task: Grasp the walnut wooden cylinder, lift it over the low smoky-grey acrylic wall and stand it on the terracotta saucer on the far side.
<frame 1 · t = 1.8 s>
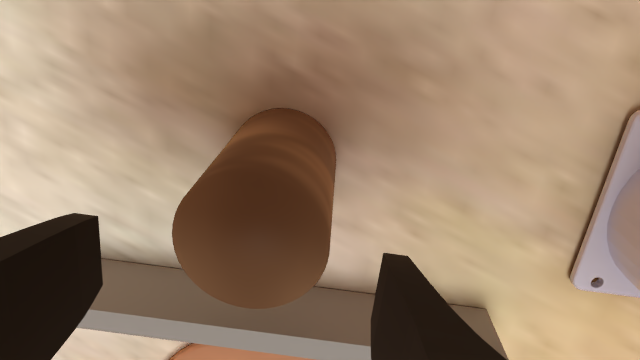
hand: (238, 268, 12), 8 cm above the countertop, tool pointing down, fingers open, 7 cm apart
walnut cylinder: (283, 160, 19), on the countertop
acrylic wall: (271, 290, 22), on the countertop
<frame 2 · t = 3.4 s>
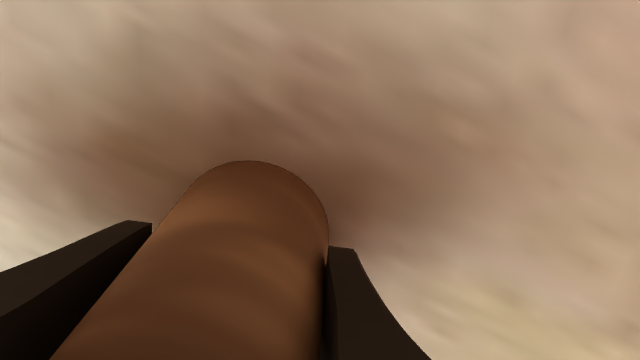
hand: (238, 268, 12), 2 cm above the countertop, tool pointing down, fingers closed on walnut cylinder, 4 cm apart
walnut cylinder: (253, 232, 13), on the countertop, touching gripper
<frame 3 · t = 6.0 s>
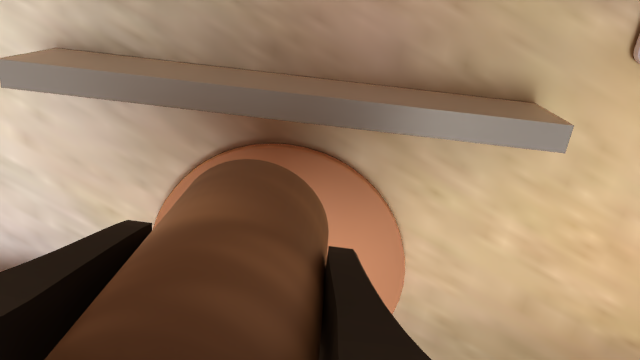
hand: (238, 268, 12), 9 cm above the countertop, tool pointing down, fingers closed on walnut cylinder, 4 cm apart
walnut cylinder: (252, 230, 13), point 8 cm above the countertop, touching gripper
saucer: (278, 261, 23), on the countertop
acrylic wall: (292, 87, 19), on the countertop
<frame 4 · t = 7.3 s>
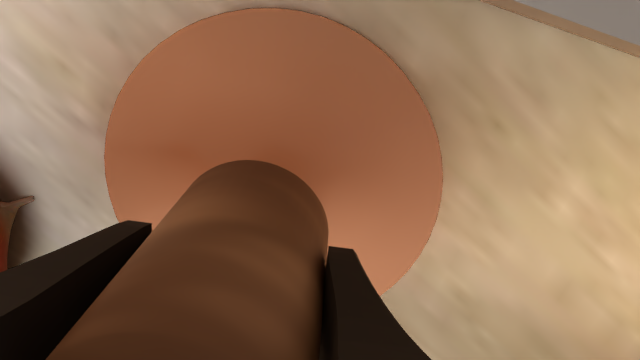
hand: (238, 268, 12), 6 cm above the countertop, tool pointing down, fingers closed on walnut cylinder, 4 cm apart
walnut cylinder: (252, 231, 13), point 4 cm above the countertop, touching gripper
saucer: (274, 179, 17), on the countertop
when the fingers open (4 cm above the countertop, at t = 8.6 s): walnut cylinder drops 1 cm, resting on saucer.
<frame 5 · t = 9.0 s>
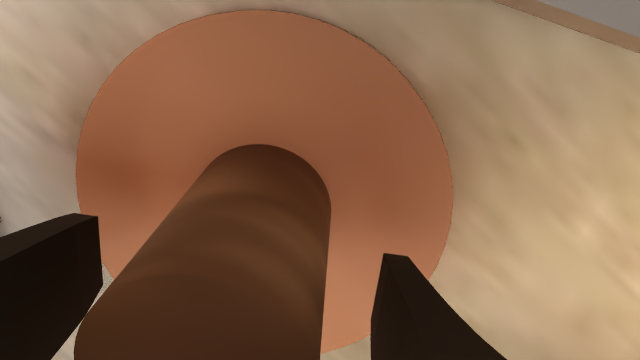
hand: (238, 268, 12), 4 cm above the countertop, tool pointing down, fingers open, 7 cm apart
walnut cylinder: (262, 209, 15), point 1 cm above the countertop, touching saucer
saucer: (265, 200, 16), on the countertop
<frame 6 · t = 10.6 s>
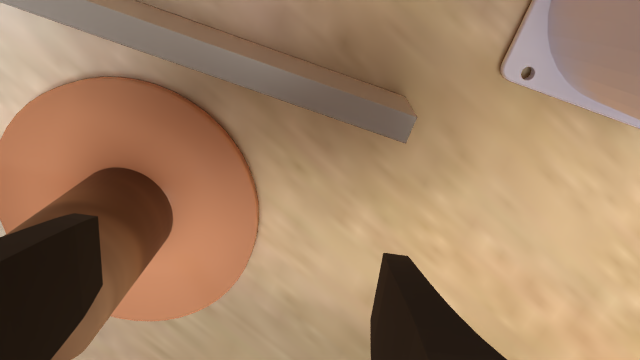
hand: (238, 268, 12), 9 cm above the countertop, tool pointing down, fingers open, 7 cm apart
walnut cylinder: (125, 212, 21), point 1 cm above the countertop, touching saucer
saucer: (132, 205, 22), on the countertop
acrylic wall: (168, 25, 19), on the countertop
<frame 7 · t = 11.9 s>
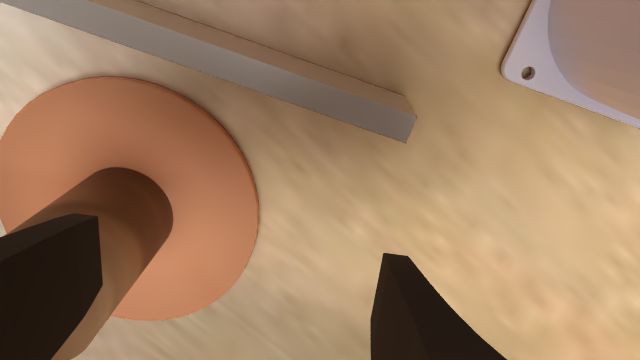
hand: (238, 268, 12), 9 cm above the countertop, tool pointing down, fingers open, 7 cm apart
walnut cylinder: (125, 212, 21), point 1 cm above the countertop, touching saucer
saucer: (132, 205, 22), on the countertop
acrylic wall: (169, 25, 19), on the countertop
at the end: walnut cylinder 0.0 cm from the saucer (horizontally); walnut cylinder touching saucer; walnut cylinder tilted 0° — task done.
